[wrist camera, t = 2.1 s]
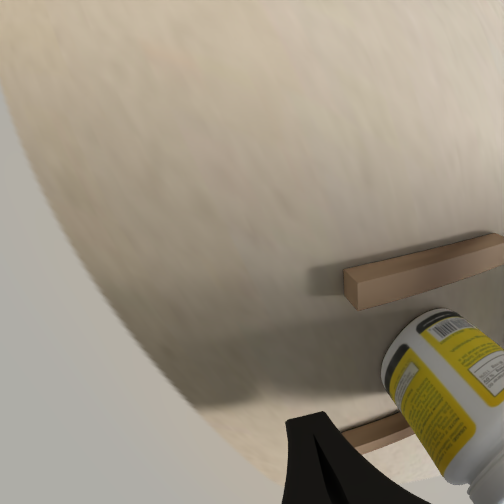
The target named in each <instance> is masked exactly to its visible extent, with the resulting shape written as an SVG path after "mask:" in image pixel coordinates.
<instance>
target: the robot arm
mask: <svg viewBox="0 0 504 504" xmlns="http://www.w3.org/2000/svg"><path fill="white" fill-rule="evenodd" d="M285 424H286V431H287V437H288V464H287V475H286V482H285V488H284V495H283V499H282V504H431V503H429V502H427V501H425V500H423V499H421V498H419V497H417V496H415V495H414V494H411V493H410V492H408V491H407V490H405V489H403V488H402V487H400V486H399V485H398V484H396V483H395V482H393V481H392V480H390V479H389V478H388V477H386V476H385V475H384V474H383V473H381V472H380V471H379V470H378V469H376V468H375V467H374V466H373V465H372V464H371V463H370V462H368V461H367V460H366V459H365V458H364V457H363V456H362V455H361V454H360V453H359V452H358V451H357V450H356V449H355V448H354V447H353V446H352V445H351V444H350V443H349V442H348V441H347V439H346V438H345V437H344V436H343V435H342V434H341V433H340V431H339V430H338V429H337V428H336V426H335V425H334V424H333V422H332V421H331V420H330V418H329V417H328V415H327V414H326V413H325V412H323V411H322V412H318V413H314V414H310V415H306V416H302V417H297V418H293V419H288V420H287V421H286V422H285Z"/></svg>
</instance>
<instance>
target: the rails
mask: <svg viewBox="0 0 504 504" xmlns="http://www.w3.org/2000/svg"><path fill="white" fill-rule="evenodd" d="M503 264H504V237H503V236H501V235H498V234H496V233H492V234H488V235H485V236H481V237H477V238H473V239H469V240H465V241H462V242H458V243H454V244H450V245H446V246H442V247H438V248H434V249H430V250H426V251H421V252H417V253H413V254H409V255H405V256H400V257H396V258H392V259H387V260H383V261H379V262H374V263H370V264H365V265H361V266H356V267H352V268H347V269H343V273H344V296H345V297H346V298H347V299H348V300H349V301H350V303H351V304H352V305H353V306H354V307H355V308H356V310H357V311H360V310H364V309H368V308H371V307H375V306H379V305H382V304H386V303H389V302H393V301H396V300H400V299H403V298H407V297H410V296H413V295H416V294H420V293H423V292H426V291H429V290H432V289H436V288H439V287H442V286H445V285H448V284H451V283H454V282H457V281H459V280H462V279H465V278H468V277H471V276H474V275H476V274H479V273H482V272H485V271H487V270H490V269H493V268H495V267H498V266H501V265H503ZM413 434H415V433H414V431H413V430H412V428H411V427H410V425H409V424H408V422H407V420H406V419H405V417H404V416H403V414H402V413H401V412H399V413H397V414H394V415H391V416H389V417H386V418H384V419H381V420H378V421H375V422H372V423H370V424H367V425H364V426H361V427H358V428H355V429H351V430H348V431H345V432H342V435H343V436H344V437H345V438H346V439H347V441H348V442H349V443H350V444H351V445H352V446H353V447H354V448H355V449H356V450H357V451H358V452H359V453H360V454H361V455H362V454H365V453H368V452H371V451H374V450H376V449H379V448H382V447H384V446H387V445H389V444H392V443H394V442H397V441H399V440H402V439H404V438H406V437H409V436H411V435H413Z"/></svg>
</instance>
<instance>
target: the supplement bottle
mask: <svg viewBox="0 0 504 504" xmlns="http://www.w3.org/2000/svg"><path fill="white" fill-rule="evenodd" d="M381 379H382V383H383V386H384V388H385V389H386V391H387V392H388V394H389V395H390V397H391V398H392V400H393V401H394V403H395V404H396V406H397V407H398V409H399V410H400V412H401V413H402V414H403V416H404V417H405V419H406V420H407V422H408V424H409V425H410V427H411V428H412V430H413V431H414V433H415V434H416V436H417V437H418V439H419V440H420V442H421V443H422V445H423V446H424V448H425V449H426V451H427V452H428V454H429V455H430V457H431V459H432V460H433V462H434V463H435V465H436V467H437V468H438V470H439V471H440V473H441V475H442V476H443V477H444V478H445V480H446V481H447V482H449V483H450V484H453V485H463V484H466V483H468V484H470V487H469V488H468V490H467V493H468V494H469V495H470V499H471V500H472V501H473V503H474V504H504V349H502V348H501V347H500V346H499V345H497V344H496V343H495V342H494V341H493V340H491V339H490V338H489V337H487V336H486V335H485V334H484V333H482V332H481V331H480V330H478V329H477V328H476V327H475V326H473V325H472V324H471V323H469V322H468V321H467V320H465V319H464V318H463V317H461V316H460V315H459V314H457V313H456V312H454V311H452V310H449V309H434V310H431V311H428V312H426V313H424V314H422V315H420V316H419V317H417V318H416V319H414V320H413V321H412V322H411V323H410V324H408V325H407V326H406V327H405V328H404V329H403V330H402V332H401V333H400V334H399V335H398V336H397V338H396V339H395V340H394V342H393V343H392V344H391V346H390V347H389V349H388V351H387V353H386V355H385V357H384V360H383V363H382V367H381Z"/></svg>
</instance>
